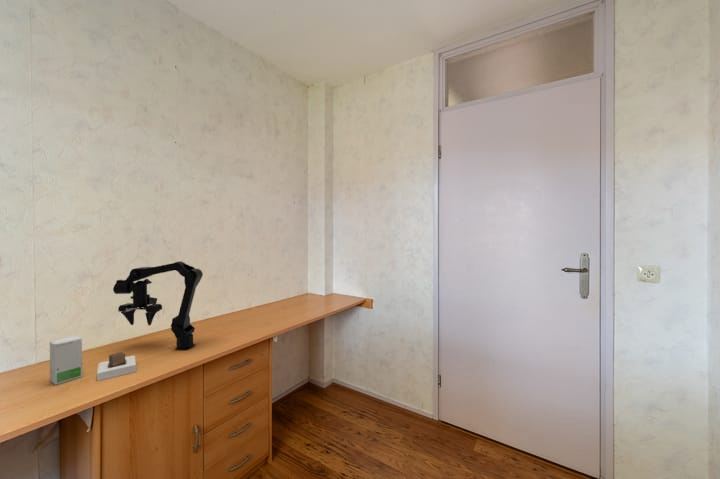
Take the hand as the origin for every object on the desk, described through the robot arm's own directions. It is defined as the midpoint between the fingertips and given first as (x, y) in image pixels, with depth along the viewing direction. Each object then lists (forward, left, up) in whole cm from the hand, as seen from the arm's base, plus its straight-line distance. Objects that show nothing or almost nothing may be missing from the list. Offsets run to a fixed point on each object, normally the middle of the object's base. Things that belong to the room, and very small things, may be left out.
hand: (141, 325), depth 147 cm
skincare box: (+5, +30, -12) cm, 32 cm away
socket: (-9, +22, -12) cm, 26 cm away
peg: (-9, +22, -12) cm, 26 cm away
